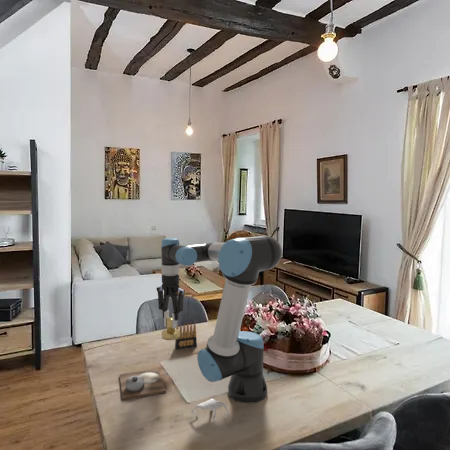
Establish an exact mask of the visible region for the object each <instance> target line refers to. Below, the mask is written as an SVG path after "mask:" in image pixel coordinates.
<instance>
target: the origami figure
mask: <svg viewBox="0 0 450 450" xmlns="http://www.w3.org/2000/svg"><path fill="white" fill-rule="evenodd" d="M222 407H224V409H225V412H226V413H225V414H223V415H222V416H223V417H224V419H226V418H227V417H226V416H227V415H228V416H229V414H230V413H229V409H228V406H227V403H226V402H223V401H219V400H217V399H214V398H210V399H208V400H206V401H204V402H201V403H199V404H195V407H194V408H192V409H191V410H190V412H191V414H193V415H194V416H195V418H198V417H199V415H197V414H196V412H195V411H196V410H197V409H201V410H209V411H210V412H212V411H213V417H212V421H213V422H216V419H215V418H216V417H217V409H221V408H222Z"/></svg>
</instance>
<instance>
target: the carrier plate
mask: <svg viewBox="0 0 450 450" xmlns="http://www.w3.org/2000/svg"><path fill="white" fill-rule="evenodd" d="M119 382H120V389H121V395H122V401H126V400H131V399H136V398H142V397H148V396H154V395H160V394H165V393H167V390H166V386H165V384H164V382H163V379H162V376H161V372H160V370H159V368H152V369H146V370H140V371H139V370H138V371H134V372H133V371H132V372H127V373H120V374H119Z"/></svg>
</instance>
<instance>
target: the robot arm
mask: <svg viewBox="0 0 450 450" xmlns="http://www.w3.org/2000/svg"><path fill="white" fill-rule="evenodd" d="M160 249H161V251H160V253H161V255H160V256H161V285H160V286H158V287H157V286H156V288H155V289H156V291H157V301H158V309H159V310H161V311H162V319H163V321H164V323H163V326H164V327H165V328H167V318H170V309H169V301H170V298H171V301H172V309H173V312H172V313H171V315H172V316H171V317H172V328H175V329H176V327H177V325H178V321H179V318H180V316H179V315H180V313H181V312H183V311H184V297H185V296H184V295H185V292H186V289H184V288H183V289H182V288H180V285H179V284H180V265H182V266H186V267H187V266H189V267H190V266H192V265H194V264H195V263H201V262H218V263H219V264H218V267H219V269H220V271H221V272H222V276H223V278H224V279H225V282H224V286H223V291H222V294H221V299H220V304H219V308H218V313H217V317H216V322H215V326H214V330H213V334H212V335H211V336H209V338H208V339H207V343H206V347H205V348H202V349H200V350H199V351H198V352H197V364H198V368H199V370H200V372H201V374H202V376H203V377H204V378H205V379H206V380H207V381H208V382H211V383H215V382H218V381H222V380H224V379H226V378H228V377H230V378H229V379H230V380H229V381H228V386H227V392H228V395H229V397H230V398H231V399H233V400H235V401H237V402H239V403H244V404H245V403H246V404H253V403H258V402H261V401H263V400H264V399H265V398H266V397H267V395H268V386H267V383H266V379H265V376H264V350H265V347H264V338H263V337H262V336H261V335H260V334H258V333H256V332H253V331H246V330H244V331H243V330H242V331H241V327H242V322H243V318H244V314H245V310H246V308H247V307H246V306H247V302H248V299H249V294H250V290H251V287H252V286H253V285H255V284H256V283H257V281H258V278H259V273H260V272H265V271H269V270H271V269H273V268H275V267H276V266H278V264H279V263H280V262H281V259H282V255H283V249H282V246H281V244H280V243H279V242H278V240H277V239H276V238H274V237H272V236H269V235H259V236H247V237H236V238H233V239H229V240H226V241H225V242H207V243H205V242H204V243H198V244H197V243H196V244H186V245H184V244H183V245H182V244H180V240H179V239H178V238H176V237H166V238H162V239H161V247H160Z"/></svg>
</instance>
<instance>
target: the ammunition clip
mask: <svg viewBox="0 0 450 450" xmlns="http://www.w3.org/2000/svg"><path fill="white" fill-rule="evenodd" d="M175 329H177V330H179V331H180V337H179V338H178V339H176V340H174V341H175V342H174V343H175V344H174V348H175V351H176V350H183V349H191V348H196V347H197V346H198V342H197V325H196V323H195V322H194V323H190V326H189V324H188V323H187V325H186V324H183V327H182V324H180V325H179V326H178V324H177V327H175Z"/></svg>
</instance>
